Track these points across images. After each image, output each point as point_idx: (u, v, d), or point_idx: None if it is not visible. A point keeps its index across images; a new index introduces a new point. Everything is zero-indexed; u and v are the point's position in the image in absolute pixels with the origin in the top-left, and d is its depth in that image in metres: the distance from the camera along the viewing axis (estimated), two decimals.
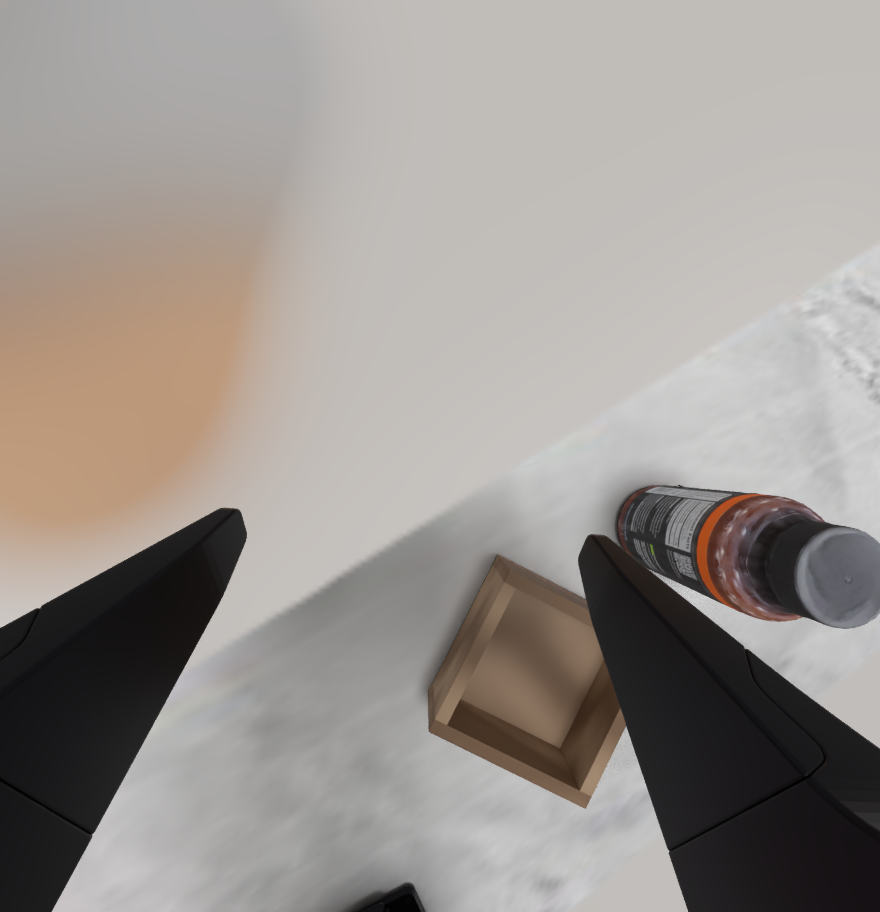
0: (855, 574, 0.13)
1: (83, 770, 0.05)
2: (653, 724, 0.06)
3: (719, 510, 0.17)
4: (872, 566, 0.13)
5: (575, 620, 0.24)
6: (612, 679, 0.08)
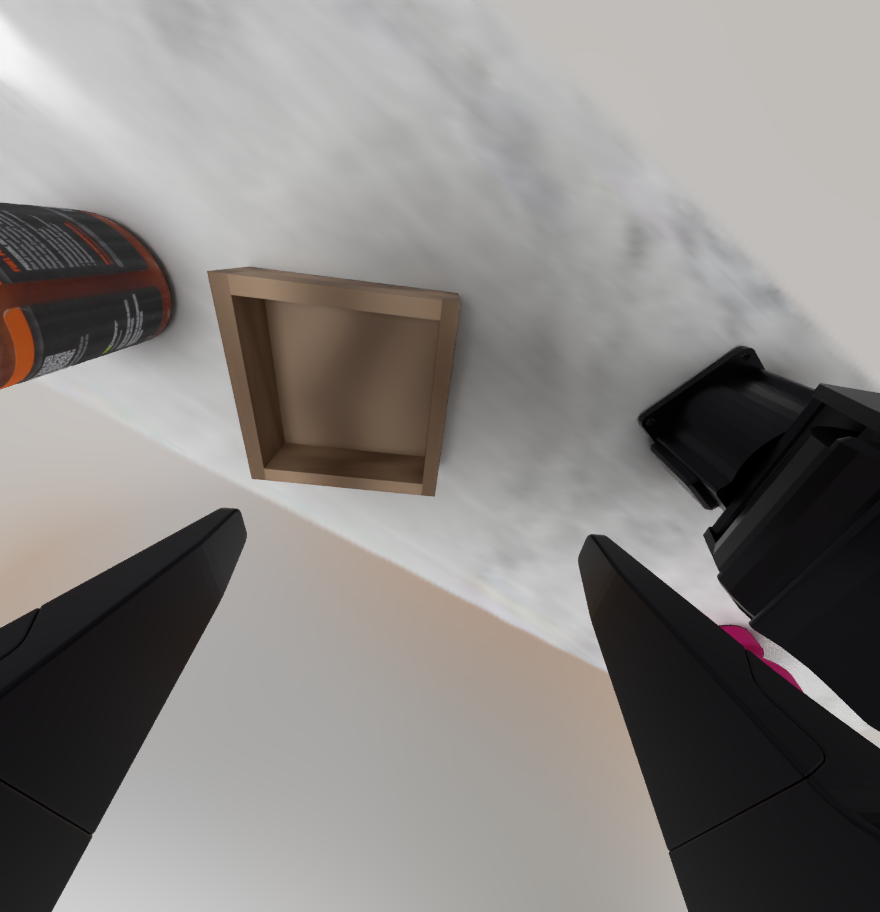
0: None
1: (83, 770, 0.05)
2: (653, 724, 0.06)
3: None
4: None
5: (285, 350, 0.19)
6: (612, 679, 0.08)
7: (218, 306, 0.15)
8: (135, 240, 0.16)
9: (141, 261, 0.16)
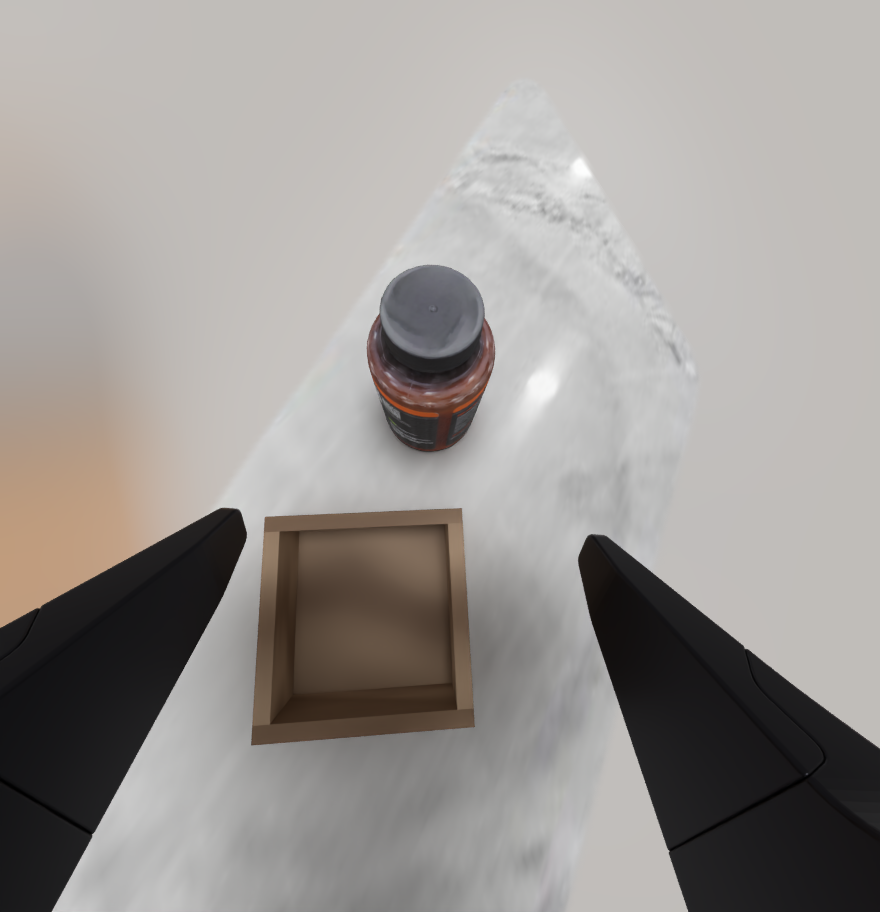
0: (437, 301, 0.13)
1: (84, 769, 0.05)
2: (653, 724, 0.06)
3: None
4: (449, 287, 0.13)
5: (396, 538, 0.21)
6: (612, 679, 0.08)
7: (437, 512, 0.19)
8: None
9: (450, 443, 0.22)
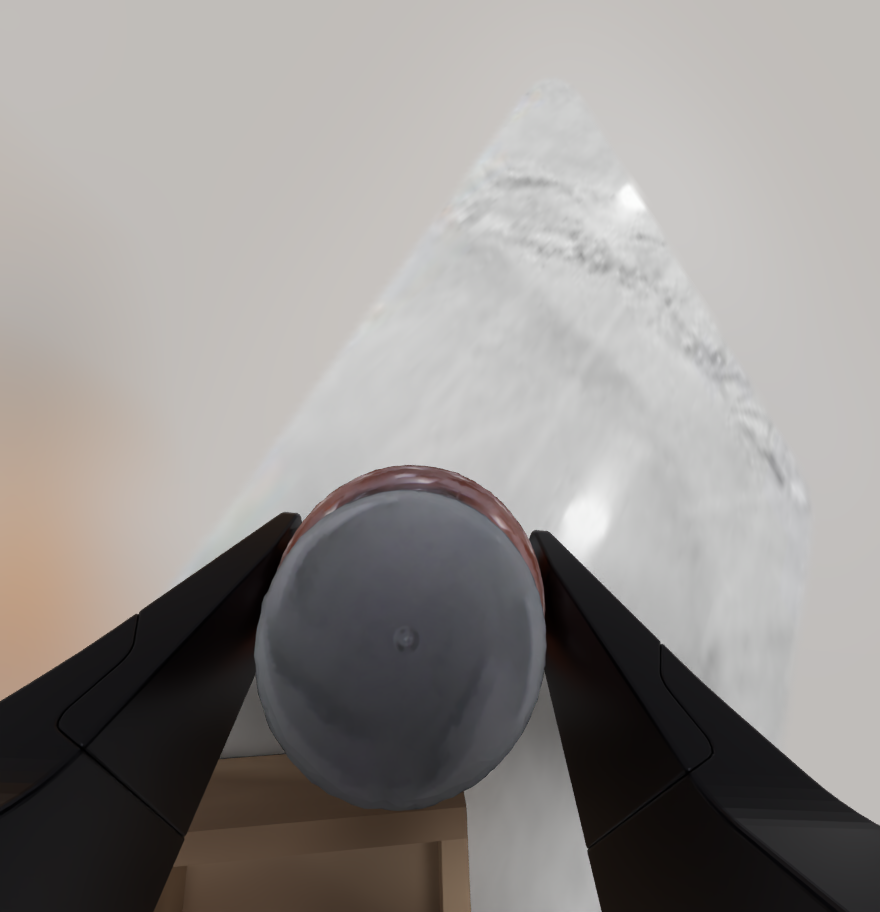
0: (417, 613, 0.05)
1: (179, 773, 0.06)
2: (576, 720, 0.06)
3: None
4: (452, 565, 0.05)
5: None
6: (546, 676, 0.07)
7: (423, 818, 0.10)
8: None
9: None
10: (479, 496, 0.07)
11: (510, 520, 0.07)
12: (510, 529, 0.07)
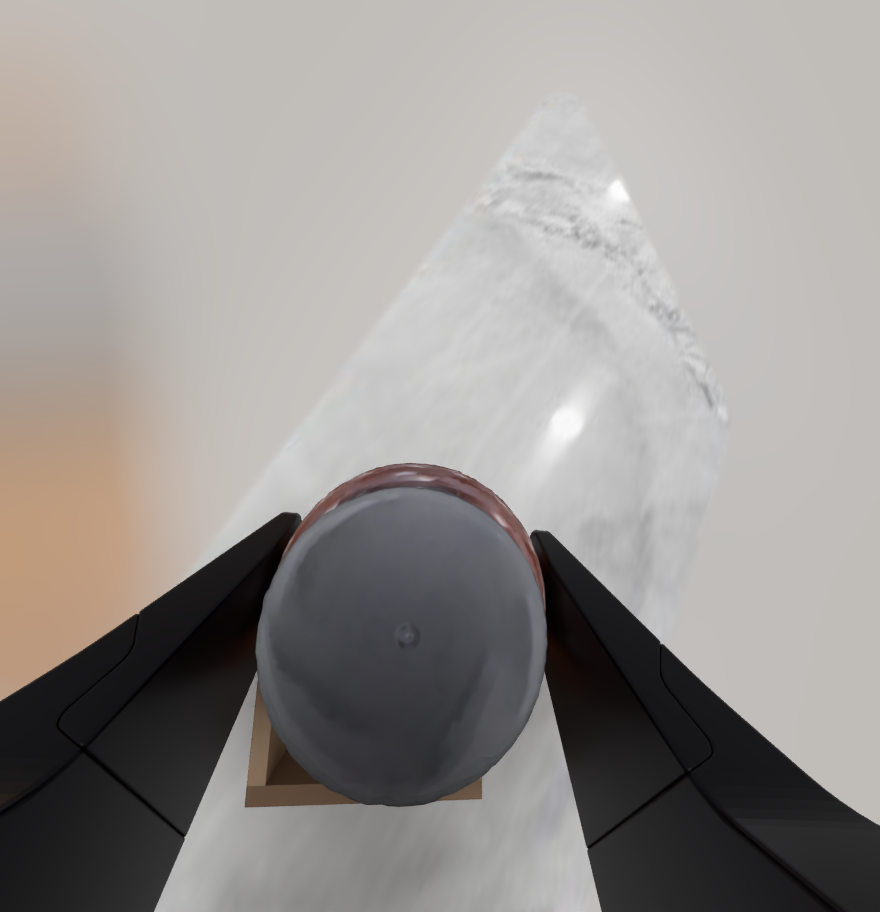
0: (418, 610, 0.05)
1: (179, 772, 0.06)
2: (576, 720, 0.06)
3: None
4: (452, 562, 0.05)
5: None
6: (546, 675, 0.07)
7: None
8: None
9: None
10: (480, 495, 0.07)
11: (511, 518, 0.07)
12: (511, 527, 0.07)
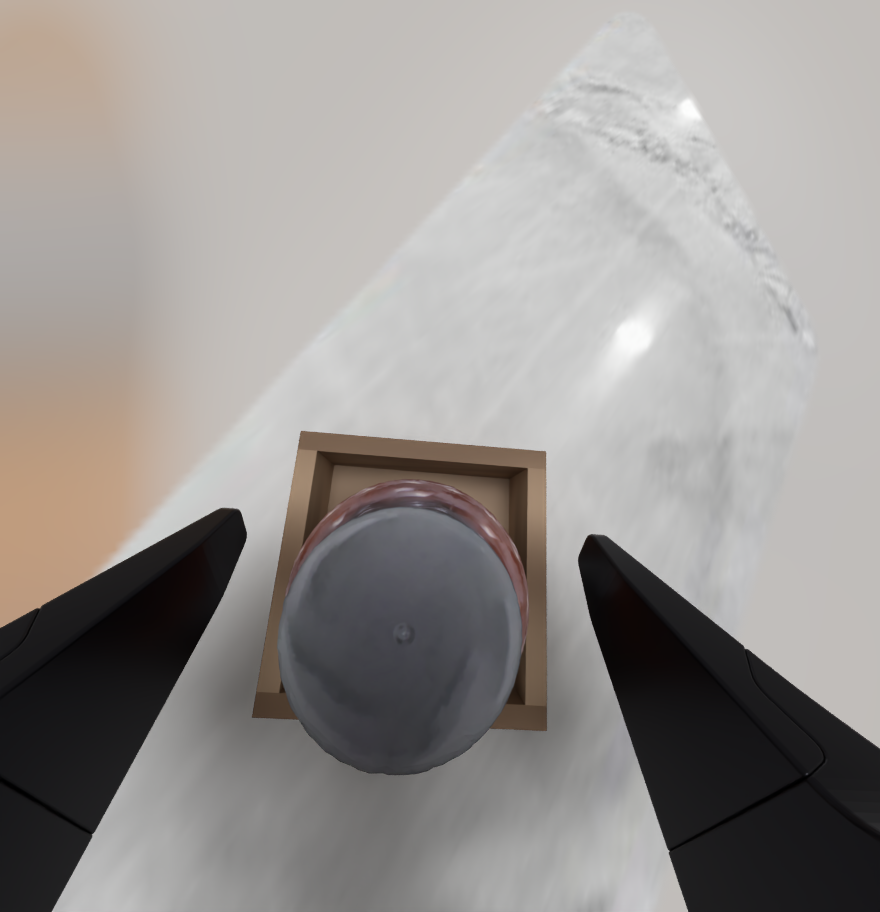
0: (413, 612, 0.05)
1: (83, 770, 0.05)
2: (653, 724, 0.06)
3: None
4: (443, 571, 0.06)
5: None
6: (612, 679, 0.08)
7: (516, 452, 0.15)
8: None
9: None
10: (470, 508, 0.08)
11: (498, 529, 0.08)
12: (498, 538, 0.08)
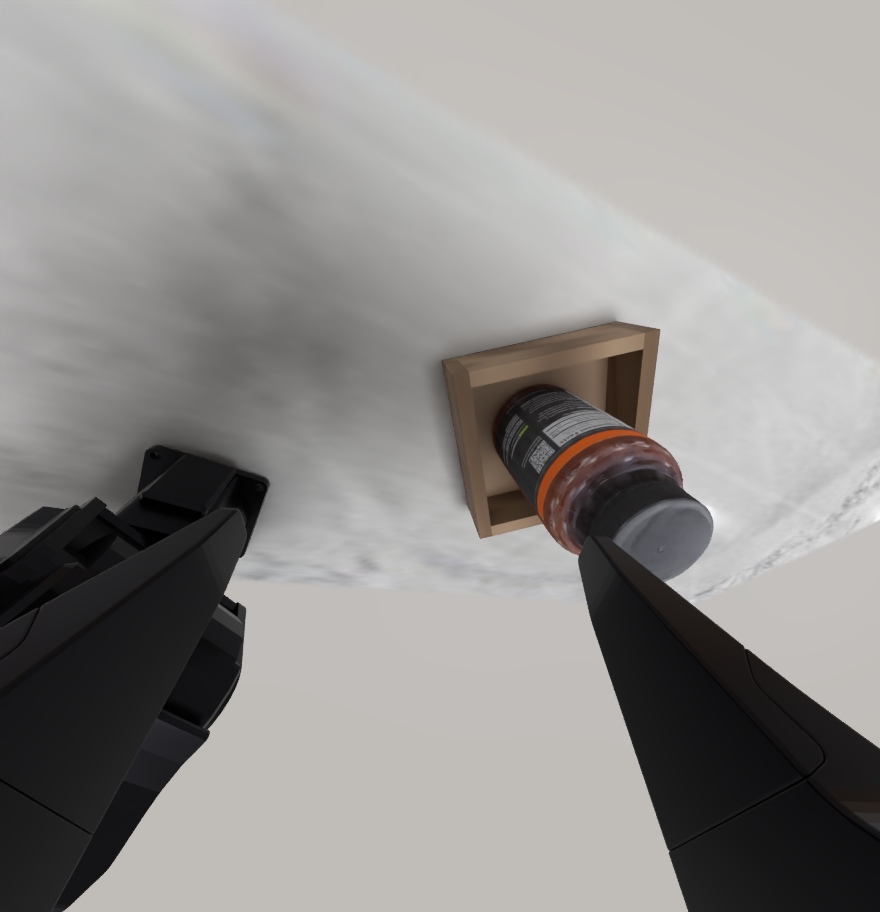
0: (669, 549, 0.12)
1: (83, 770, 0.05)
2: (653, 724, 0.06)
3: (624, 431, 0.14)
4: (684, 554, 0.12)
5: None
6: (612, 679, 0.08)
7: None
8: None
9: None
10: None
11: None
12: None
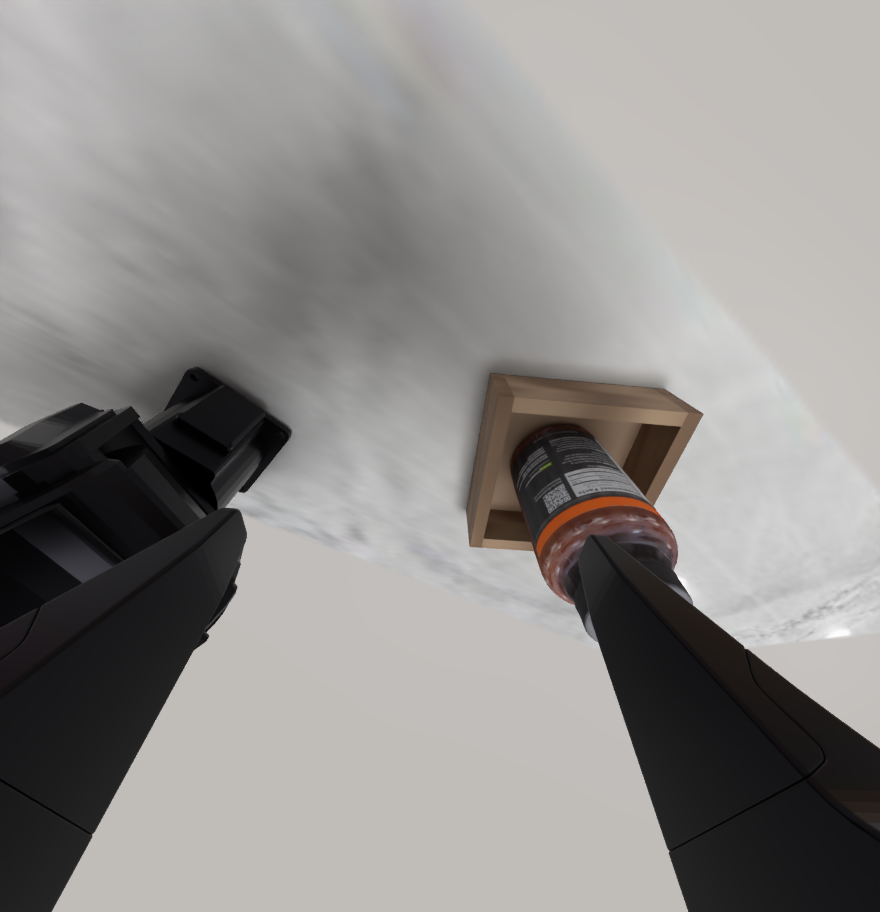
0: None
1: (84, 769, 0.05)
2: (653, 724, 0.06)
3: (640, 503, 0.14)
4: None
5: None
6: (612, 679, 0.08)
7: None
8: None
9: None
10: None
11: None
12: None
